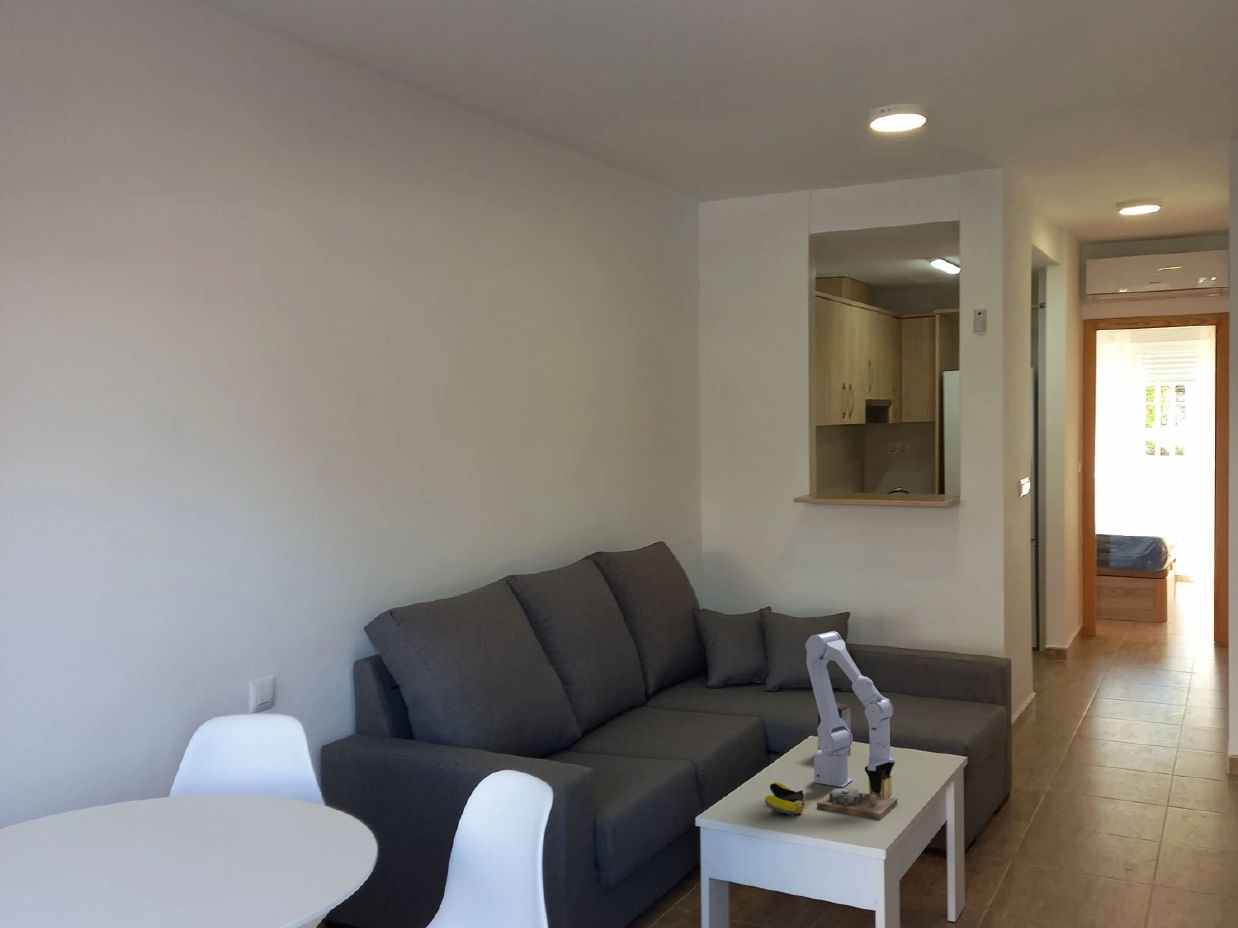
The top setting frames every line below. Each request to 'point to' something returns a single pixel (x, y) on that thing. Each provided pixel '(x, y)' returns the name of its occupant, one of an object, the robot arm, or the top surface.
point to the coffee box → (844, 714)
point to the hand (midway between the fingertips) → (880, 789)
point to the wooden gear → (883, 787)
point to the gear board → (857, 803)
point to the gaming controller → (785, 799)
